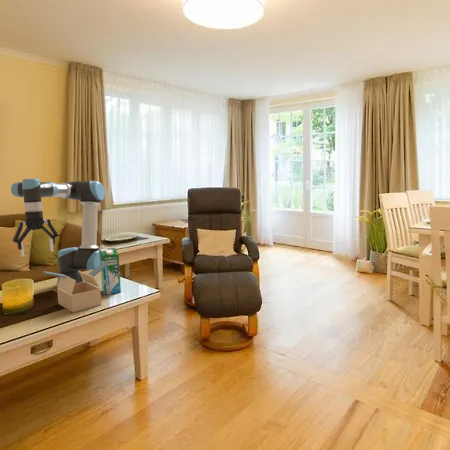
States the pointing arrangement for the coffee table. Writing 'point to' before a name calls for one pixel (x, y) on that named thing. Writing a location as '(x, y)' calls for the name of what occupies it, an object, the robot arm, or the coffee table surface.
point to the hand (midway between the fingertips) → (37, 253)
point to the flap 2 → (93, 274)
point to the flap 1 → (64, 282)
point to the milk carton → (110, 271)
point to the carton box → (80, 297)
